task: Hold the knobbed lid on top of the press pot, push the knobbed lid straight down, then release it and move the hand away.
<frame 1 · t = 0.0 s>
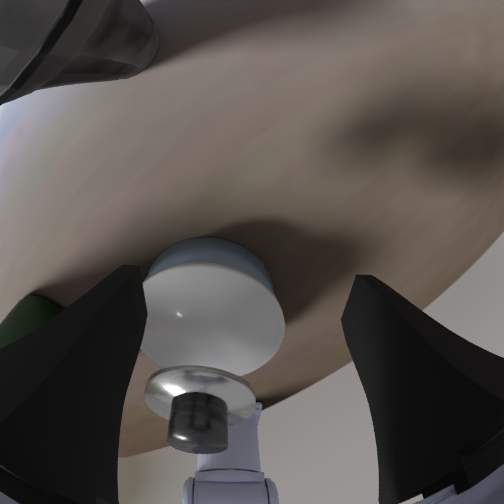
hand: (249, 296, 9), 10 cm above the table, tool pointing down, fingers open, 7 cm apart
bottle: (51, 323, 23), on the table
knobbed lid: (199, 409, 13), point 10 cm above the table, slide at 3.5 cm
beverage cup: (126, 47, 12), on the table
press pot: (208, 295, 22), on the table
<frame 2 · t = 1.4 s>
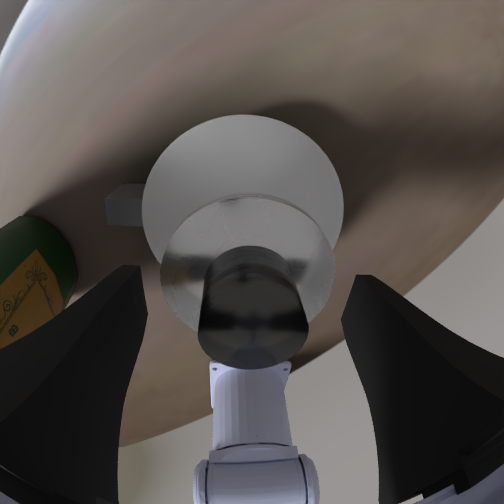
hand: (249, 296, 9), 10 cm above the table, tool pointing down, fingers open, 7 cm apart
bottle: (42, 257, 19), on the table
knobbed lid: (249, 288, 9), point 10 cm above the table, slide at 3.5 cm
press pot: (241, 194, 18), on the table
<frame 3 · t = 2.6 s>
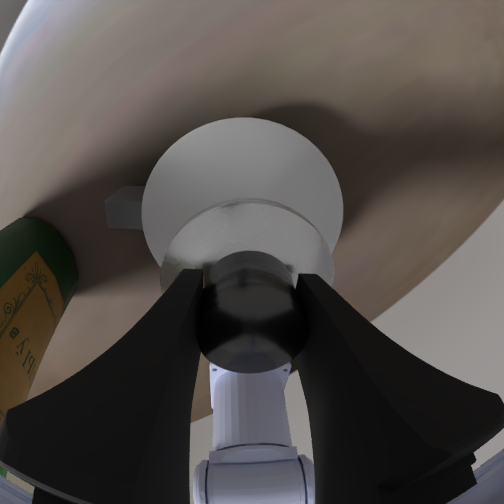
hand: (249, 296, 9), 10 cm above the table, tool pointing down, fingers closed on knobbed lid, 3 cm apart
bottle: (42, 258, 19), on the table
knobbed lid: (248, 293, 9), point 10 cm above the table, slide at 3.5 cm, touching gripper
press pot: (241, 197, 18), on the table
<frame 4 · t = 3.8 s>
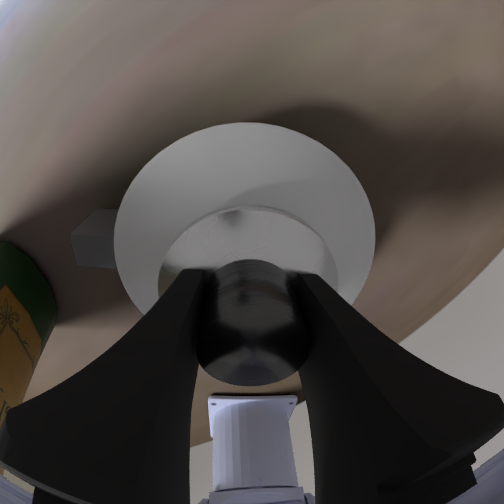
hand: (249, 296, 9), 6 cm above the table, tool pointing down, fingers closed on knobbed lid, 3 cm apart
bottle: (20, 285, 16), on the table
knobbed lid: (249, 302, 9), point 6 cm above the table, slide at 0.0 cm, touching gripper, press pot
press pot: (243, 221, 15), on the table
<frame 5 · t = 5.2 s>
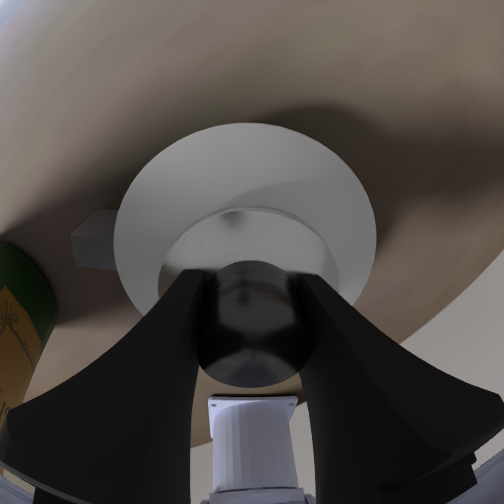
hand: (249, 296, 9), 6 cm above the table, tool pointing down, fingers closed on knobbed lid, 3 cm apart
bottle: (19, 285, 16), on the table
knobbed lid: (250, 304, 9), point 6 cm above the table, slide at 0.0 cm, touching gripper, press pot
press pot: (243, 222, 15), on the table
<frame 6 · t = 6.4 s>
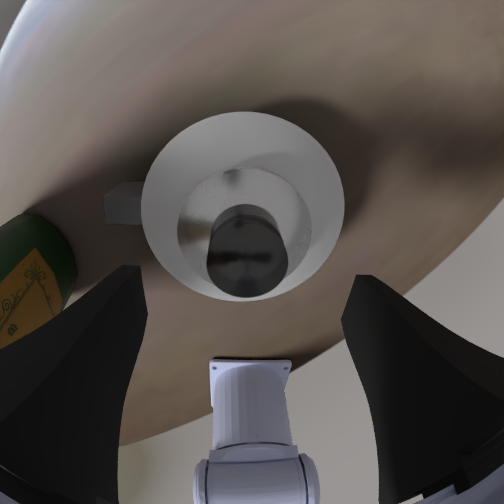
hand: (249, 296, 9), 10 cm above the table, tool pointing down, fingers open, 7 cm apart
bottle: (41, 255, 19), on the table
knobbed lid: (245, 238, 12), point 7 cm above the table, slide at 0.0 cm
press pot: (241, 192, 18), on the table
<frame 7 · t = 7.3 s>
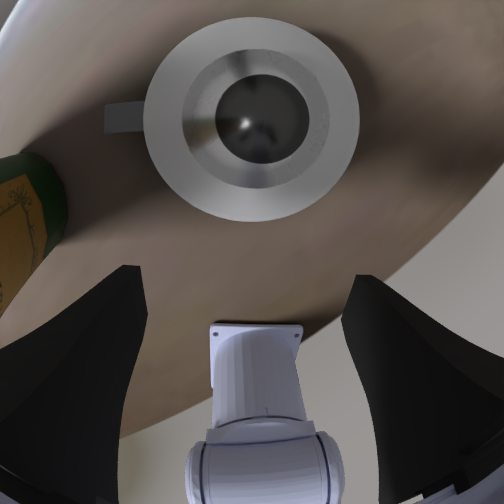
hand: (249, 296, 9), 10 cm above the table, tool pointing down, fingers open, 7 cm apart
bottle: (32, 201, 17), on the table
knobbed lid: (257, 117, 10), point 7 cm above the table, slide at 0.0 cm
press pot: (249, 116, 16), on the table
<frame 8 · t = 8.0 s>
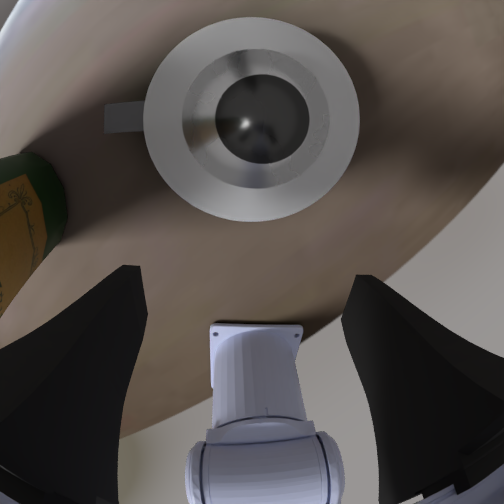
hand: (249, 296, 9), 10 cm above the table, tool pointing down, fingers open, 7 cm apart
bottle: (32, 201, 17), on the table
knobbed lid: (257, 117, 10), point 7 cm above the table, slide at 0.0 cm
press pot: (249, 116, 16), on the table
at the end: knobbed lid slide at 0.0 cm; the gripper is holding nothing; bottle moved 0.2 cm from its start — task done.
